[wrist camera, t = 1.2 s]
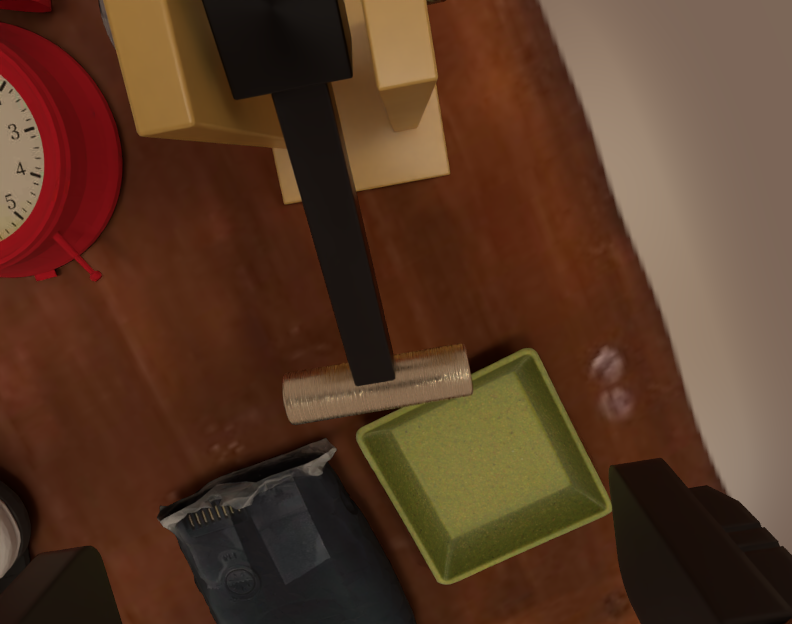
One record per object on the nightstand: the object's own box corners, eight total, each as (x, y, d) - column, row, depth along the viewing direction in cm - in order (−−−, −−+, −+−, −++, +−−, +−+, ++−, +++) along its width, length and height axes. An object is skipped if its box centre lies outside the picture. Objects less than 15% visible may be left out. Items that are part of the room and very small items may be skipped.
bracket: (448, 173, 28) (518, 197, 11) (288, 202, 29) (111, 270, 11) (414, -41, 26) (433, -421, 9) (244, -7, 27) (-51, -310, 9)
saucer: (438, 563, 32) (441, 590, 30) (354, 415, 31) (350, 433, 29) (602, 488, 32) (616, 511, 29) (524, 331, 30) (533, 343, 28)
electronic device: (165, 487, 33) (279, 751, 34) (128, 527, 28) (264, 842, 29) (338, 416, 34) (446, 680, 35) (336, 443, 28) (463, 756, 29)
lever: (465, 359, 19) (478, 419, 17) (297, 386, 20) (292, 450, 18) (396, -135, 12) (406, -122, 10) (128, -79, 12) (89, -56, 10)
